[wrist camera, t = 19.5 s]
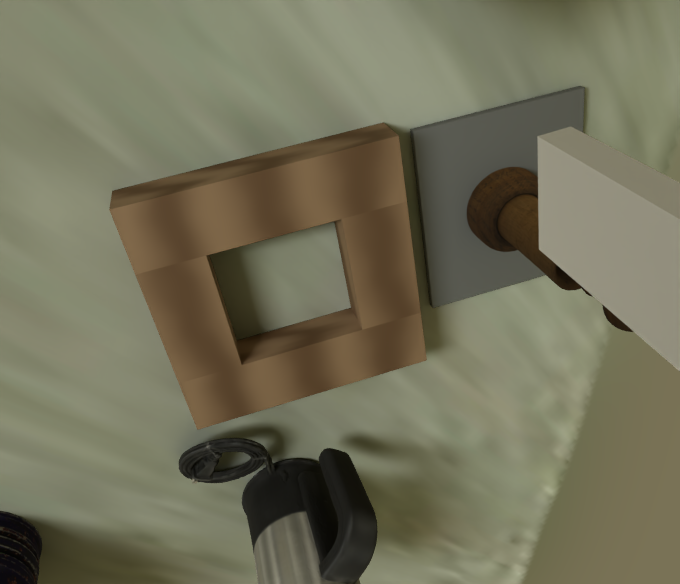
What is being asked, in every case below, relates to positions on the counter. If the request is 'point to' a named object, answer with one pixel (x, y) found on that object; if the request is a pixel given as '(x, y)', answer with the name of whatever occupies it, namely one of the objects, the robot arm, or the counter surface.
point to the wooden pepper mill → (517, 223)
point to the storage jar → (18, 550)
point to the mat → (462, 178)
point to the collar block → (263, 223)
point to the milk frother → (297, 512)
